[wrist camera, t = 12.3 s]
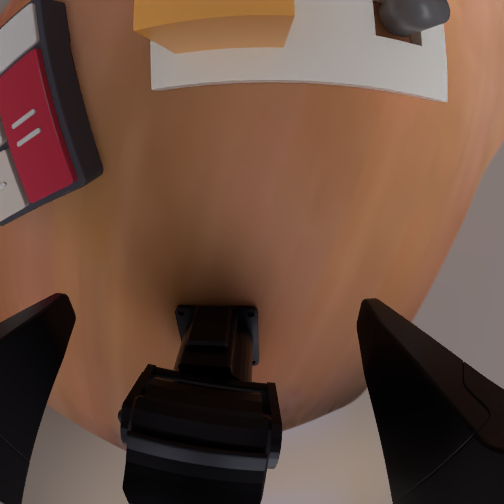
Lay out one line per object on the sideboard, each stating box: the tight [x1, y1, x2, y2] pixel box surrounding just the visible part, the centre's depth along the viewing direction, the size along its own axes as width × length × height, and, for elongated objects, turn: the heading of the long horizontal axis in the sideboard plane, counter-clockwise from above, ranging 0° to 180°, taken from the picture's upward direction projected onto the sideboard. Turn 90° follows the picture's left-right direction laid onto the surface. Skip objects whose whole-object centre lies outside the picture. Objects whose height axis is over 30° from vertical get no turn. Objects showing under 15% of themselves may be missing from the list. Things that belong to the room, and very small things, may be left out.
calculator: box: [0, 0, 103, 226], centre depth 14 cm, size 11×4×15 cm
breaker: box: [378, 0, 450, 37], centre depth 10 cm, size 3×3×4 cm
